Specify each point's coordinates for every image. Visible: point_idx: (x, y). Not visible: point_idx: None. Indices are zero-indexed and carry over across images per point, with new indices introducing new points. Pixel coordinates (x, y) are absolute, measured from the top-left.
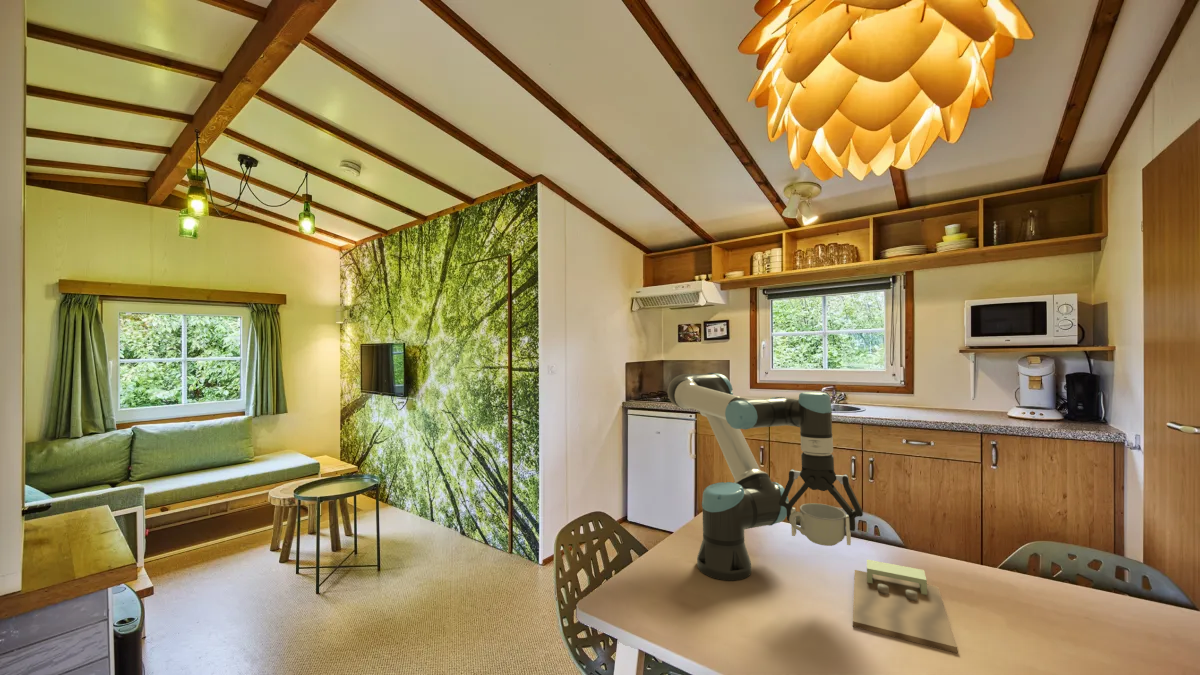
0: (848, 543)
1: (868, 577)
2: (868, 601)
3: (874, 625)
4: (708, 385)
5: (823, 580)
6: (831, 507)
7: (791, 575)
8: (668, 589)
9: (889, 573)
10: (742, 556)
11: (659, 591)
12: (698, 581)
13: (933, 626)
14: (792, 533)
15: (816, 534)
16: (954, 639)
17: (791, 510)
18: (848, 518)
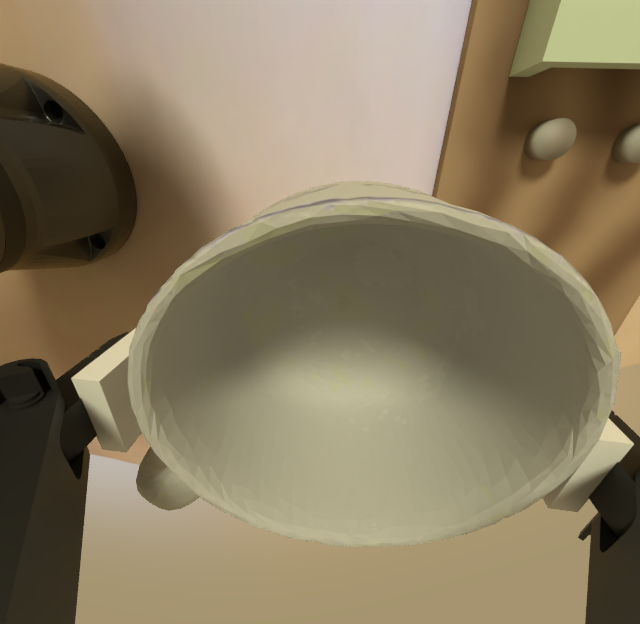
0: None
1: (525, 71)
2: None
3: None
4: None
5: (348, 103)
6: (496, 252)
7: (243, 119)
8: (40, 345)
9: (637, 64)
10: (76, 224)
11: (34, 357)
12: (58, 288)
13: (597, 296)
14: None
15: (320, 426)
16: (615, 331)
17: (108, 447)
18: (570, 510)
